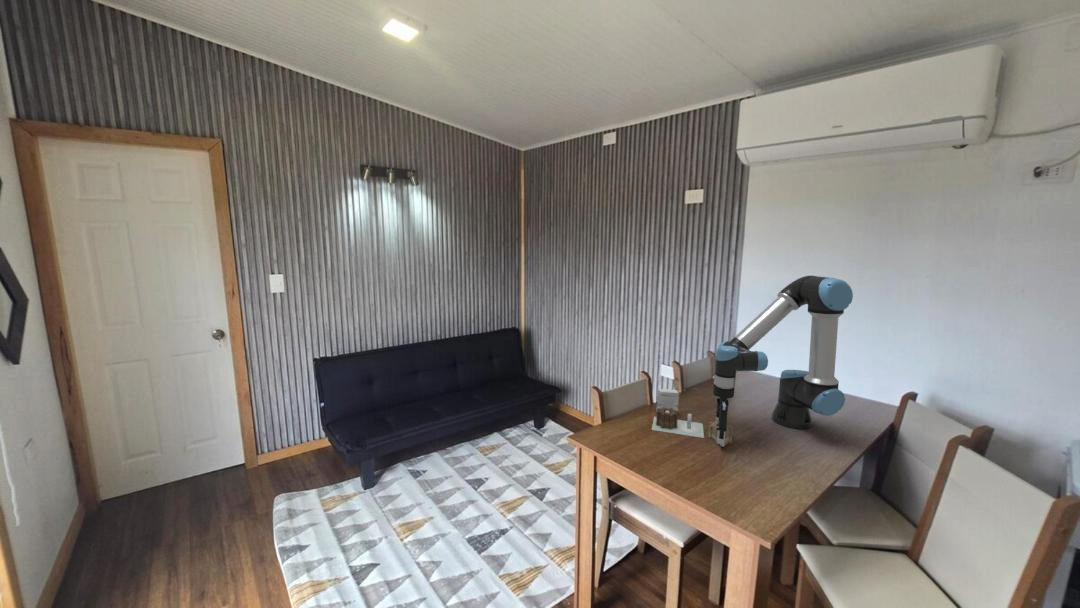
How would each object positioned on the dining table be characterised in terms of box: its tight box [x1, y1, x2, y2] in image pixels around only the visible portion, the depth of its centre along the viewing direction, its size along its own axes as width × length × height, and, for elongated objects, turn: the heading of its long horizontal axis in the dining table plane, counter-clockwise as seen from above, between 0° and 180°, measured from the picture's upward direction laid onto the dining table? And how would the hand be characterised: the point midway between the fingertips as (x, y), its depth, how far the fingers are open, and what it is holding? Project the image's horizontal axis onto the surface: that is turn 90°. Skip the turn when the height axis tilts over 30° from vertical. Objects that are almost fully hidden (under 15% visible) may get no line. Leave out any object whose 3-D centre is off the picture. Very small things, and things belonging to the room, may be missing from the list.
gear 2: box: [708, 420, 734, 446], centre depth 166 cm, size 8×8×6 cm
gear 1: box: [656, 407, 679, 429], centre depth 176 cm, size 8×8×6 cm
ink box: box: [655, 388, 680, 412], centre depth 188 cm, size 9×5×12 cm, turn 84°
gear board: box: [651, 411, 705, 439], centre depth 175 cm, size 20×14×7 cm
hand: (719, 439), depth 167 cm, fingers open, 11 cm apart
